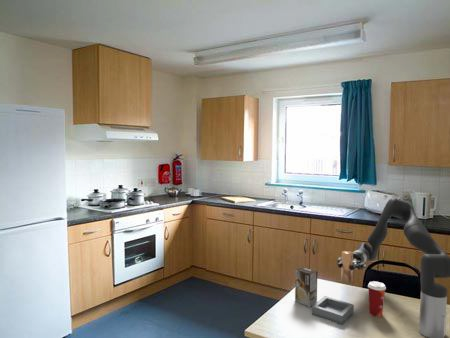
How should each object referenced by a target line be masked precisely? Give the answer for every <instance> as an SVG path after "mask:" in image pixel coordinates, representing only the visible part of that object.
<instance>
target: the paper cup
mask: <svg viewBox="0 0 450 338" xmlns="http://www.w3.org/2000/svg"><path fill="white" fill-rule="evenodd" d="M367 288H368V313H369V314H370V315H371V316H373V317H382V316H383V311H384V303H385V294H386V290H387V287H386V285H385V284H384V283H383V282H379V281H375V280H373V281H369V283H368V285H367Z"/></svg>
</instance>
